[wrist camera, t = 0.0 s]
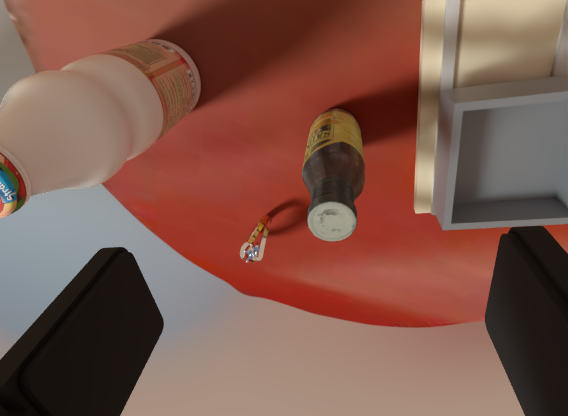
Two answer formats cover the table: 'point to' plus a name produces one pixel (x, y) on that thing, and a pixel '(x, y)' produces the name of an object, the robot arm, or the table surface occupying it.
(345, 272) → the table surface
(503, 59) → the track board
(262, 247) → the bracelet
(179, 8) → the table surface
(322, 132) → the sauce bottle
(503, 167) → the grey storage bin
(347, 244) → the table surface
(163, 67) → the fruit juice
